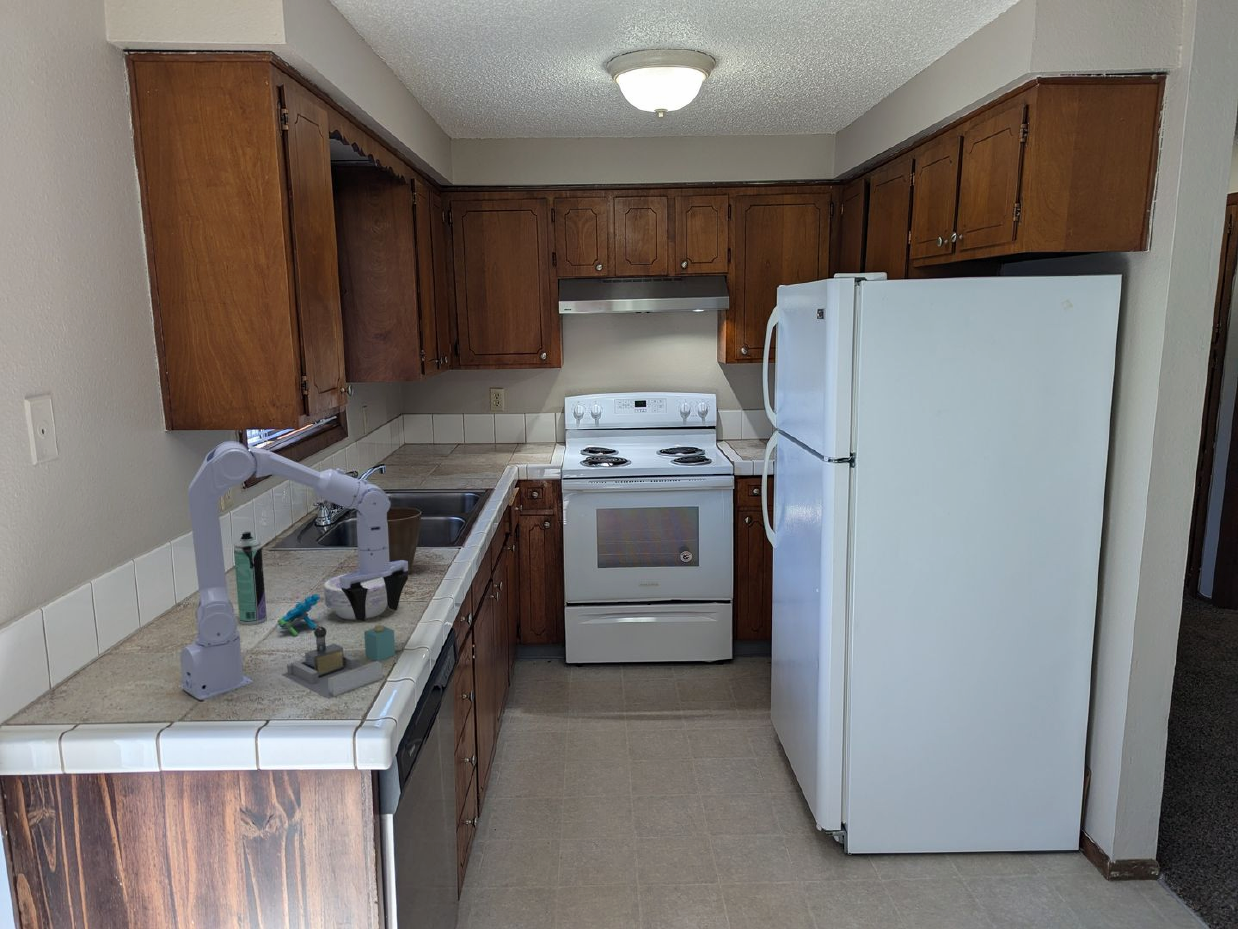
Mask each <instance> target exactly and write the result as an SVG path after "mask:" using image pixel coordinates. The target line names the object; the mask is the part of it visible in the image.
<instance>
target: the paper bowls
mask: <svg viewBox="0 0 1238 929" xmlns="http://www.w3.org/2000/svg"><path fill="white" fill-rule="evenodd" d="M347 574H348V573H344V574H341V575H336V576H334V577H331V578H329V579H328V580H326V581H325V582H324V584H323V588H324V589H323V592H324V593H323V594H324V595H323V596H324V605H325V606H326V607H327V608H328V609H330V610H334V612H335V613H336V616H338V617H340V618H342V619H344V620H354V621H357V620H356V618H355V615H354V611H353V609H352V606H351V604H350V602H349V600H348V598H347V596H346V595H345V593H344V592H343V591H342V589H341V587H340V581H339V577H342V576H345V575H347ZM361 585H362V586H363V587H364V588H367V589H368V591H367V595H366V603H365V609H366V618H365V620H366V619H372V618H375V617H377V616H380V615H381V614H383V613H384V612H385V610H386V609H387V607H388V604H387V592H386V586H385V582H384V579H383V577H381V578H377V579H374V580H370V581H367V582H363V583H361Z"/></svg>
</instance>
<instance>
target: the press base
mask: <svg viewBox="0 0 1238 929" xmlns="http://www.w3.org/2000/svg"><path fill="white" fill-rule="evenodd" d="M343 654H344V668H341V669H339V670H336V671H333V672H330V673H327V674H324V675H321V676H319V677H318V672H317V671H315V670H313V669H311V668H309V667H307V666H306V659H305V658H302V659H300V660H296V661H294V662H290V663H288V664H286V670H287V671H286V672H284V673H282V674H281V676H283V677H285V678H287V679H289V680H291V681H293V682H295V683H296V684H299V685H300V686H303V687H304V688H306V689H308V690H310V691H312V692H314V693H316V694H318V695H320V696H321V697H324V698H326V699H327V700H329V699H332V698H336V697H338V696H341V695H342V694H346V693H349V692H351V691H354V690H356V689H359V688H361V687H364V686H367V685H370V684H372V683H375V682H377V681H380V680H383V679H386V678H388V676H386V675H384V674H383V662H380V661H375V660H374V661H372V662H370V663H367V664H364V665H363V664H360V663H358V658H357V657H355V656H352V655H350V654H348V653H346V652H344V651H343Z"/></svg>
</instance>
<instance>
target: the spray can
mask: <svg viewBox="0 0 1238 929" xmlns="http://www.w3.org/2000/svg"><path fill="white" fill-rule="evenodd" d="M262 552H263V550H262V544H261V541H260V540H257V539H256V538H255V537H254V536H253V535H252V533H251V531H244V532H242V534H241V537H240V538H239V540H237V542H235V543H234V544H233V554H234V555H233V556H234V569H235V570H234V571H235V579H236V582H235V583H236V593H237V594H236V595H237V605H238V615H239V616H238V619H239V623H240V624H241V625H243V626H254V625H259V624H262V623H265V622H267V604H266V603H267V602H266V592H265V577H264V563H263V553H262Z"/></svg>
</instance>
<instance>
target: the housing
mask: <svg viewBox="0 0 1238 929" xmlns="http://www.w3.org/2000/svg"><path fill="white" fill-rule="evenodd" d="M363 632H364V633H363V634H364V635H363V636H364V649H365V658H368V659H371V660H373V661H374V662H375V661H378V662H380V661H383V660H385V659H386V660H387V659H389V658H391V657H395V656H396V649H395V631H394V629H392V628H389V627H386V626H385V625H380V624H379V625H375V626H374V627H373V628H370V629H366V630H364V631H363Z"/></svg>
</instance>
